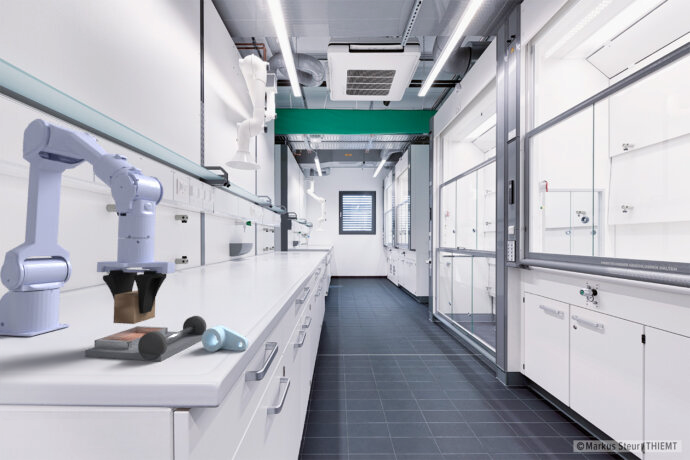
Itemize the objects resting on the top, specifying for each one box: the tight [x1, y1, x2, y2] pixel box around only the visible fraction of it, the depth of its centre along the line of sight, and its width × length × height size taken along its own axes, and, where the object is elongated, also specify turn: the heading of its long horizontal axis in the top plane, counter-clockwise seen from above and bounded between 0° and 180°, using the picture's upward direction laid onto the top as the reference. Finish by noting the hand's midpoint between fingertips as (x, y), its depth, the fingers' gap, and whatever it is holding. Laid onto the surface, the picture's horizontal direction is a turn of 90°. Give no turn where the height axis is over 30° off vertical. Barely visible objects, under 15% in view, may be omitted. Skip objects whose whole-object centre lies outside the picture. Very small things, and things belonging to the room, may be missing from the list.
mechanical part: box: [201, 324, 249, 352], centre depth 55 cm, size 8×2×4 cm, turn 73°
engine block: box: [113, 290, 156, 325], centre depth 58 cm, size 4×5×5 cm
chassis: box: [84, 315, 207, 362], centre depth 57 cm, size 14×12×4 cm
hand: (134, 312), depth 57 cm, fingers closed on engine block, 4 cm apart
